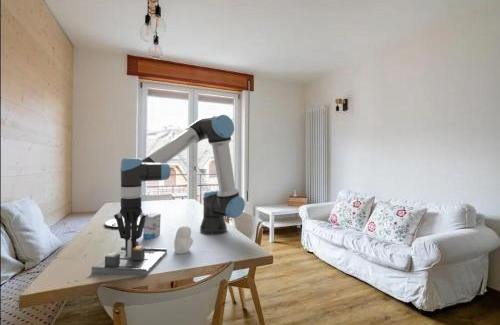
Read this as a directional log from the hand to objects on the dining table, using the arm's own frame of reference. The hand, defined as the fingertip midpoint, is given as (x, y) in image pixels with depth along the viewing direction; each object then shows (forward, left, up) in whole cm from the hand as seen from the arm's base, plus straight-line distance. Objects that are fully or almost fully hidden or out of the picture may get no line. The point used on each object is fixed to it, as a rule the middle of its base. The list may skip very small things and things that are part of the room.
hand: (130, 255), depth 106 cm
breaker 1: (+3, +8, -1) cm, 8 cm away
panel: (-1, 0, -3) cm, 3 cm away
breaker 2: (+3, -7, -1) cm, 8 cm away
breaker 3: (-3, 0, -1) cm, 3 cm away
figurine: (-17, -14, -3) cm, 22 cm away
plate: (+30, -57, -3) cm, 64 cm away
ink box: (+5, -33, -3) cm, 33 cm away
